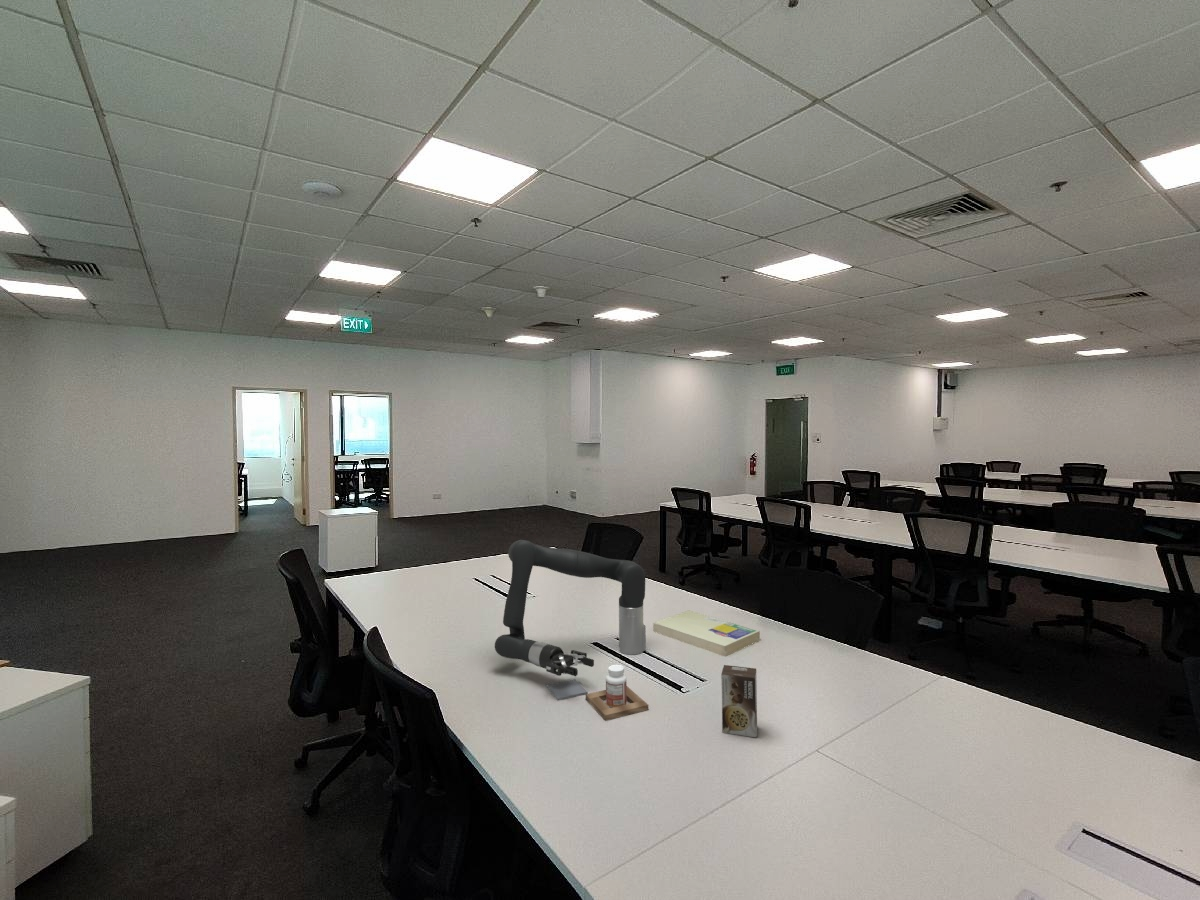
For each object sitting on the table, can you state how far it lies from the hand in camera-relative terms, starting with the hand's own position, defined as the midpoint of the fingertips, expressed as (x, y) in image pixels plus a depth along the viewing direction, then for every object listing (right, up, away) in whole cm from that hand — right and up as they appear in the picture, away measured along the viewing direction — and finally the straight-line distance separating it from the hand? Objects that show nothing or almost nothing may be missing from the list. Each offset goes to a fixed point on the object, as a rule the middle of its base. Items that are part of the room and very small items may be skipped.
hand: (585, 667), depth 166 cm
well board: (+9, -8, -6) cm, 14 cm away
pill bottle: (+9, -9, -6) cm, 14 cm away
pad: (-6, -8, +3) cm, 11 cm away
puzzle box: (+47, -8, +50) cm, 69 cm away
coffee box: (+43, -9, -21) cm, 48 cm away
